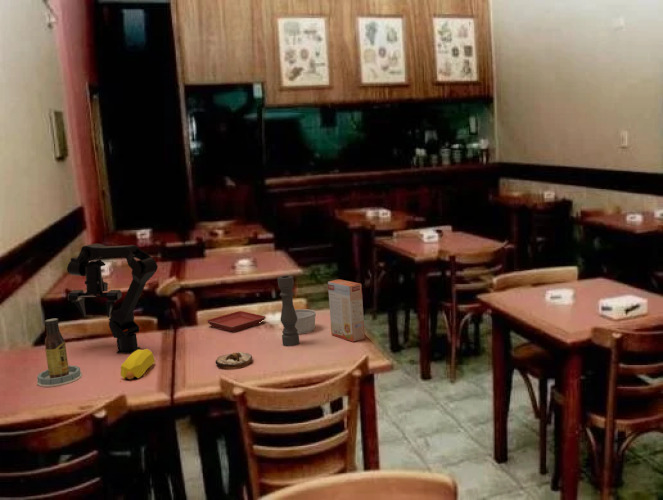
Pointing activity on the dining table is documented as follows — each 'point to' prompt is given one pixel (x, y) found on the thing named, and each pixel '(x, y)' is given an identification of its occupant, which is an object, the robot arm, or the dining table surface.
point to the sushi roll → (234, 360)
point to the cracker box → (346, 310)
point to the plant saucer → (236, 321)
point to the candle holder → (288, 311)
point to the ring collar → (59, 378)
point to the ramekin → (305, 320)
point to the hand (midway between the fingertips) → (96, 317)
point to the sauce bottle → (55, 350)
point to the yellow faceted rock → (137, 364)
